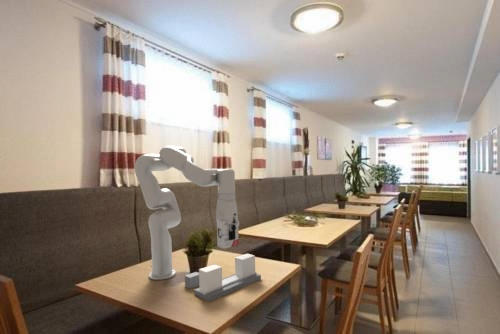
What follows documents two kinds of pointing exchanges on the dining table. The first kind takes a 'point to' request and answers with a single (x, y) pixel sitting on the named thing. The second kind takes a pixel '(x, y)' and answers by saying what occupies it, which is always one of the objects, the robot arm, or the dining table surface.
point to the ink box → (225, 235)
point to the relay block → (192, 280)
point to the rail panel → (217, 287)
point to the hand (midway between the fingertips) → (227, 238)
